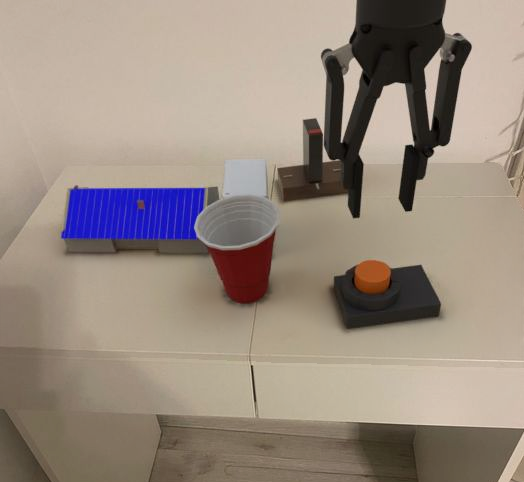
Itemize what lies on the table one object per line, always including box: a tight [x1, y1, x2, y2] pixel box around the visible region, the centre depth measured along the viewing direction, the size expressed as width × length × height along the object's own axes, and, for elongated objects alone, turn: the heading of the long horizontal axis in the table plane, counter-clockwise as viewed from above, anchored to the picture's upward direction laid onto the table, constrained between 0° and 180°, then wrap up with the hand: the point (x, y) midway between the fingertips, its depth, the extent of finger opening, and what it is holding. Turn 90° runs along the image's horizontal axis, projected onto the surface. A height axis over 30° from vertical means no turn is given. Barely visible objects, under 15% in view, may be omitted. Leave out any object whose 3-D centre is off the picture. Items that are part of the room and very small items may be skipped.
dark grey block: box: [302, 117, 324, 183], centre depth 89 cm, size 6×2×8 cm, turn 7°
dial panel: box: [276, 159, 348, 202], centre depth 92 cm, size 11×10×3 cm
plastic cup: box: [194, 194, 281, 304], centre depth 72 cm, size 11×11×12 cm
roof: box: [60, 185, 221, 254], centre depth 86 cm, size 22×14×7 cm, turn 84°
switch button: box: [354, 259, 391, 294], centre depth 70 cm, size 4×4×2 cm
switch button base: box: [333, 264, 442, 329], centre depth 72 cm, size 12×8×4 cm, turn 97°
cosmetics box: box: [221, 157, 270, 200], centre depth 81 cm, size 10×6×10 cm, turn 0°
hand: (379, 207), depth 62 cm, fingers open, 5 cm apart
